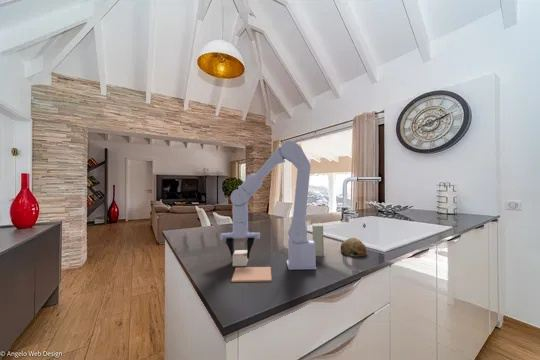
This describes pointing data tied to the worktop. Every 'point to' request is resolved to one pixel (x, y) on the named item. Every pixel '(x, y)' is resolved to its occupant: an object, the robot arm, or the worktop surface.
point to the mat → (252, 274)
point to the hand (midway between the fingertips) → (240, 258)
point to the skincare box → (318, 239)
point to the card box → (240, 258)
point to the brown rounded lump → (353, 247)
